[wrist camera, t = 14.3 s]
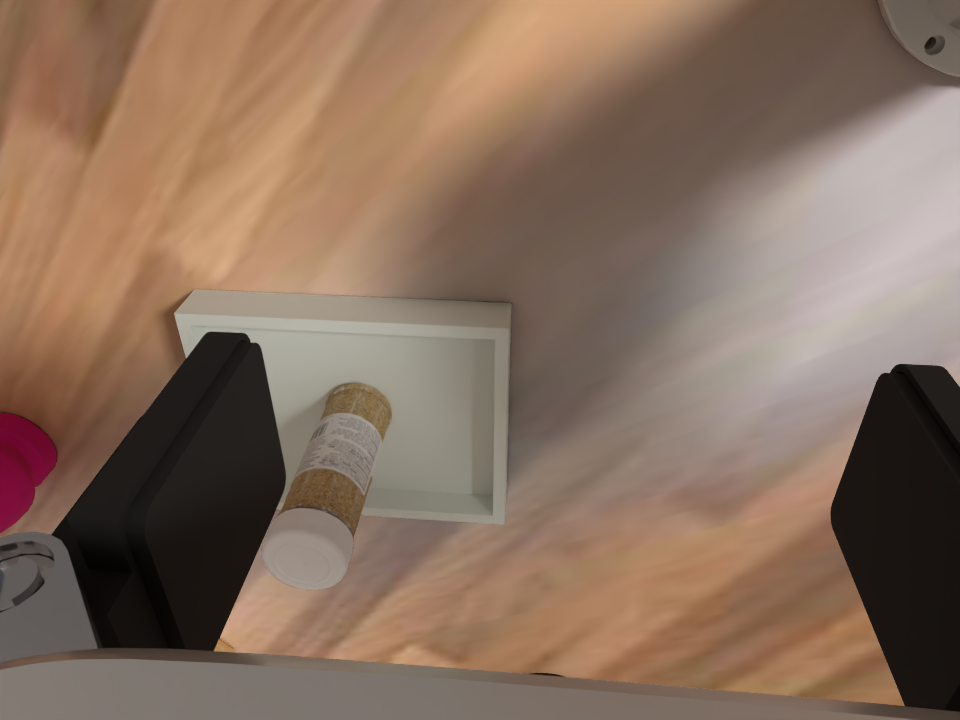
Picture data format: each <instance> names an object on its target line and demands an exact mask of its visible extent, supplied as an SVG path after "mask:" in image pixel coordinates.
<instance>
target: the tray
mask: <svg viewBox="0 0 960 720" xmlns="http://www.w3.org/2000/svg"><path fill="white" fill-rule="evenodd" d="M511 315H512V303H500V302H477V301H454V300H430V299H407V298H384V297H360V296H337V295H314V294H290V293H267V292H244V291H220V290H197V289H194V290H193V292H192V293H191V294H190V295H189V296H188V297H187V299H186V300H185V301H184V302H183V303H182V304H181V306H180V307H179V308H178V309H177V310H176V311H175V313H174V316H175V320H176V323H177V327H178V331H179V334H180V338H181V342H182V346H183V349H184V353H185V357H186V358H187V357H188V356H189V354H190V353H191V352H192V350H193V349H194V348H195V346H196V345H197V344H198V342H199V341H200V340H201V338H202V337H203V336H204V335H205V334H206V333H207V332H211V331H213V332H234V333H245V334H247V335H248V337H249V339H250V341H251V342H252V343H258V344H259V345H260V347H261V350H262V354H263V359H264V364H265V369H266V374H267V379H268V384H269V389H270V394H271V399H272V404H273V409H274V414H275V419H276V424H277V429H278V434H279V439H280V444H281V449H282V454H283V459H284V464H285V470H286V483H285V489H284V492H283V495H282V497H281V499H280V502H279V504H278V506H277V508H276V510H281V509H282V507H283V505H284V503H285V500H286V497H287V494H288V492H289V490H290V486H291V483H292V481H293V478H294V476H295V474H296V471H297V469H298V467H299V464H300V462H301V459H302V457H303V455H304V452H305V450H306V448H307V446H308V443H309V441H310V439H311V437H312V434H313V432H314V430H315V428H316V426H317V424H318V423H319V422H320V419H321V417H322V414H323V412H324V409H325V405H326V401H327V399H328V396H329V395H330V393H332V392H333V390H334V389H336V388H337V387H339V386H341V385H344V384H349V383H361V384H366V385H368V386H371V387H373V388H375V389H376V390H378V391H379V392H380V393H381V394H383V395H384V396H385V397H386V398H387V400H388V402H389V404H390V407H391V411H392V420H391V423H390V425H389V427H388V429H387V431H386V434H385V437H384V440H383V443H382V451H381V454H380V457H379V461H378V464H377V467H376V470H375V474H374V477H373V480H372V483H371V484H370V487H369V490H368V493H367V497H366V500H365V503H364V506H363V510H362V512H361V515H363V516H378V517H393V518H408V519H424V520H439V521H454V522H469V523H484V524H500V525H504V523H505V512H506V500H507V473H508V434H509V394H510V355H511Z"/></svg>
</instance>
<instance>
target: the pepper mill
mask: <svg viewBox="0 0 960 720" xmlns="http://www.w3.org/2000/svg"><path fill="white" fill-rule="evenodd" d="M56 461H57V454H56V449H55V447H54V445H53V443H52V441H51V440H50V439H49V437H48V436H47V434H46V433H44V432H43V431H42V430H41V429H40V428H39V427H37V426H36V425H35V424H33V423H31V422H30V421H28V420H26V419H24V418H21V417H19V416H16V415H13V414H8V413H0V533H1V532H3V531H5V530H6V529H7V528H9V527H10V526H12V525H13V524H15V523H16V522H17V521H18V520H19V519H20V518H21V517H22V516H23V515H24V514H25V513H26V512H27V511H28V510H29V508H30V506H31V505H32V503H33V500H34V496H35V487H37V486H38V485H40V484H41V483H42V481H43V480H44V479H45V478H46V477H47V476H48V474H49V473H50V472H51V471H52V470H53V468H54V467H55V465H56Z"/></svg>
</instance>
